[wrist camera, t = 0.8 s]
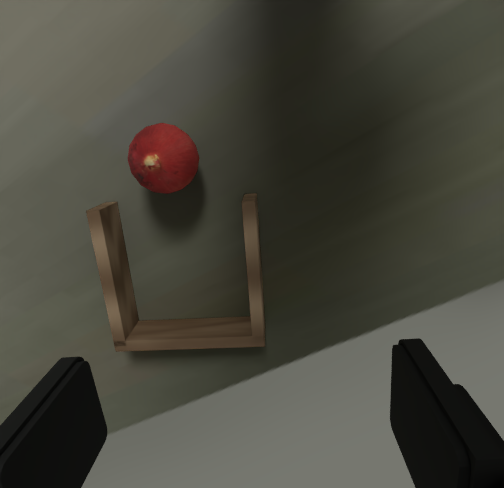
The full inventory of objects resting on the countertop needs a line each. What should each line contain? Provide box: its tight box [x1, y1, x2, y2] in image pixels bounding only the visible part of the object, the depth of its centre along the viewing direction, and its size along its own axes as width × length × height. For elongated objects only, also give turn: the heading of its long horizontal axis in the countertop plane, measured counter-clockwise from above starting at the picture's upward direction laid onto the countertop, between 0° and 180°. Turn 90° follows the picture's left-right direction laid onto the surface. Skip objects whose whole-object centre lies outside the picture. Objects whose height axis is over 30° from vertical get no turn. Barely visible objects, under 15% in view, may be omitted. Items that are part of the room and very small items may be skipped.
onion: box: [128, 123, 199, 194], centre depth 30 cm, size 6×6×8 cm
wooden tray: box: [86, 193, 265, 352], centre depth 36 cm, size 15×15×4 cm
